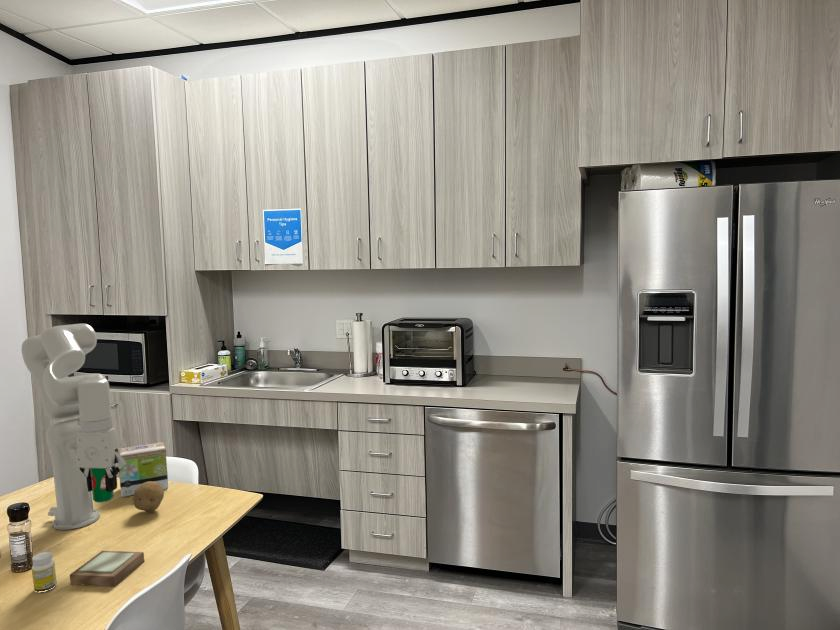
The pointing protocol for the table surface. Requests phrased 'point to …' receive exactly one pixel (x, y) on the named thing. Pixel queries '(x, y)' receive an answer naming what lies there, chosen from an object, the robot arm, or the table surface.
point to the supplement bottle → (43, 572)
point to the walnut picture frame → (107, 568)
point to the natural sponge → (148, 496)
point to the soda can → (100, 485)
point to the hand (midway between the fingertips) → (102, 489)
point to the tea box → (143, 467)
